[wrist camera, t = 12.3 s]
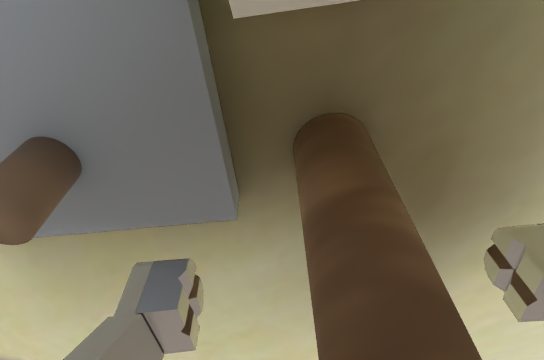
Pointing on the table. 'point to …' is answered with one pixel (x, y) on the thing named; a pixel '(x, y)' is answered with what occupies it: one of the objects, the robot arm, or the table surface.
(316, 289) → the pin
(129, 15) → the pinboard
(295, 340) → the table surface
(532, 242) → the robot arm
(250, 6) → the cover
